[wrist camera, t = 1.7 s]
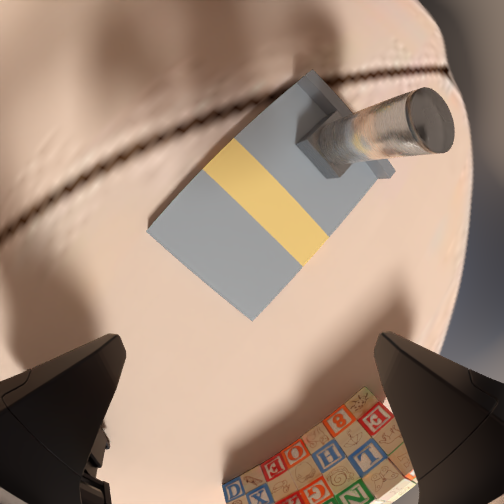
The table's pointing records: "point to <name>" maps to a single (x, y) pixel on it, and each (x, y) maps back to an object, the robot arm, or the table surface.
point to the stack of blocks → (334, 462)
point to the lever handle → (380, 132)
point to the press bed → (264, 202)
